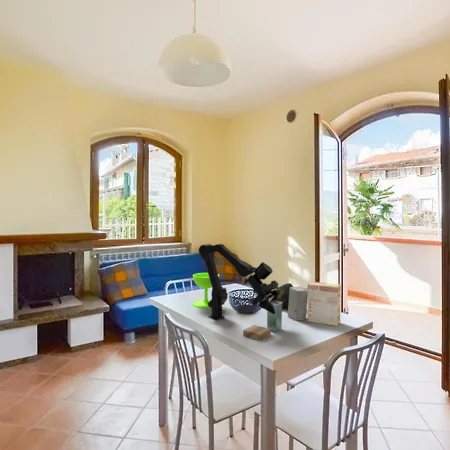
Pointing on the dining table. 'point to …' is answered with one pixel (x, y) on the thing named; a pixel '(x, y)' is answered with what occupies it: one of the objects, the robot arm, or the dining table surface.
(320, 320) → the coffeecake box
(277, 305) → the tea tin
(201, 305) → the wineglass
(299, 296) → the skincare box
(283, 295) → the squash
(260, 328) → the walnut block
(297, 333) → the dining table surface
